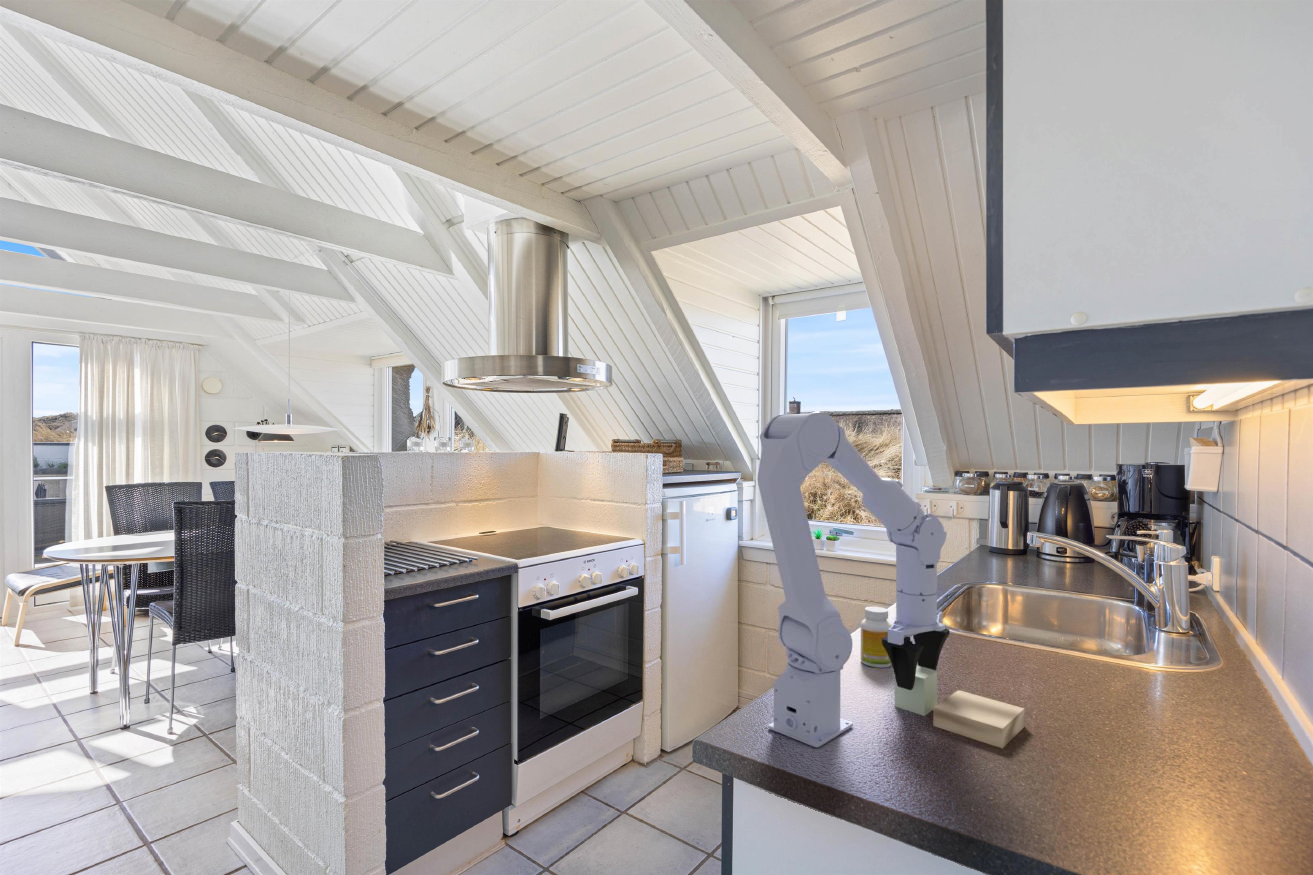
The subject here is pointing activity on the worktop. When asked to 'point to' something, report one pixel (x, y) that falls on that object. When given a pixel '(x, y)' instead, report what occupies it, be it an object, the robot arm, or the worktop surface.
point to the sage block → (919, 692)
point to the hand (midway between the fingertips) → (916, 680)
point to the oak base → (979, 718)
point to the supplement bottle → (874, 637)
